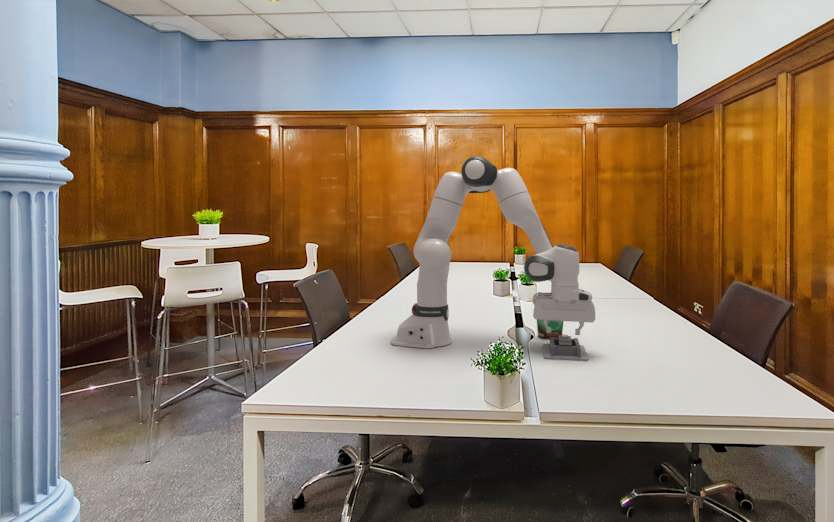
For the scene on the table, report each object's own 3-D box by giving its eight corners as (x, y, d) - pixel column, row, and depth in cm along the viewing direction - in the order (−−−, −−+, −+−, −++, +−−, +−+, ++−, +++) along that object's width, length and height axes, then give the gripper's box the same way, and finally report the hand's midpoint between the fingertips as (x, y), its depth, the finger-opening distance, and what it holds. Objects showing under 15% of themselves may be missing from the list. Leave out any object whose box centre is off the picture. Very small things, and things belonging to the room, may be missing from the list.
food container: (542, 341, 193) (542, 314, 192) (534, 337, 199) (534, 311, 198) (571, 338, 196) (572, 312, 195) (563, 334, 202) (563, 309, 201)
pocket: (543, 358, 171) (544, 348, 171) (542, 345, 187) (543, 335, 187) (588, 361, 168) (588, 350, 168) (583, 347, 184) (583, 337, 184)
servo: (559, 354, 174) (559, 339, 173) (558, 347, 182) (558, 333, 182) (571, 355, 173) (571, 340, 172) (570, 347, 182) (570, 333, 181)
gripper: (532, 293, 174) (531, 333, 176) (597, 296, 170) (595, 337, 171) (533, 290, 180) (531, 329, 182) (595, 293, 176) (593, 333, 177)
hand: (563, 333), depth 177 cm, fingers open, 8 cm apart
